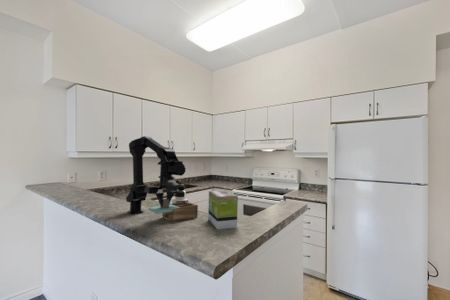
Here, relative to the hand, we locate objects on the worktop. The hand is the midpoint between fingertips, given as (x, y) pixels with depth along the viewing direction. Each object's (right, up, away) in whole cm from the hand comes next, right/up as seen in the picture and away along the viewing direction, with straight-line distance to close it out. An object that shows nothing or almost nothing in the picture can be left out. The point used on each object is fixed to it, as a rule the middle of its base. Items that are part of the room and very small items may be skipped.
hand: (164, 206), depth 100 cm
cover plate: (0, -2, 0) cm, 2 cm away
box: (+6, -7, +6) cm, 11 cm away
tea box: (+28, -8, -2) cm, 29 cm away
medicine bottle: (+3, -8, +17) cm, 19 cm away
